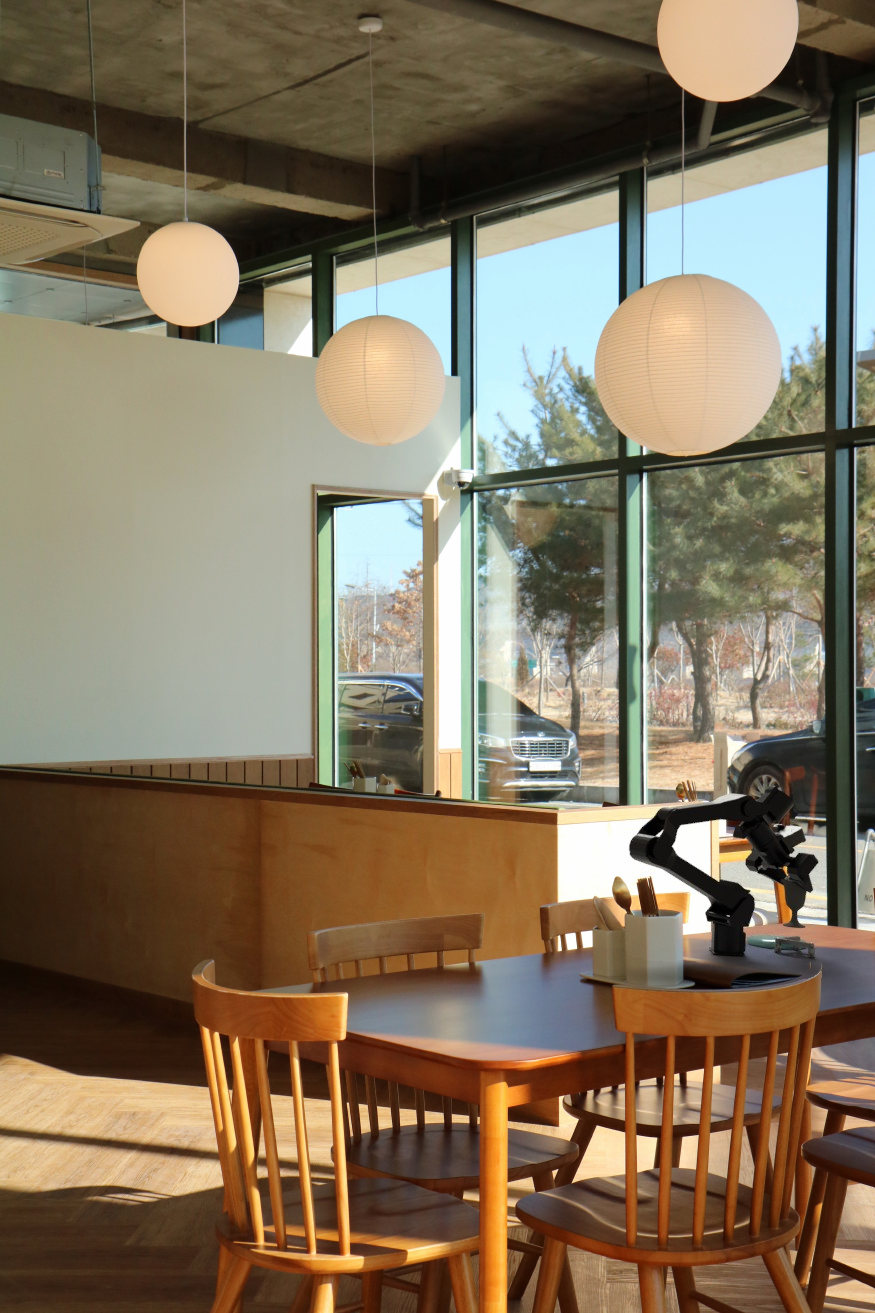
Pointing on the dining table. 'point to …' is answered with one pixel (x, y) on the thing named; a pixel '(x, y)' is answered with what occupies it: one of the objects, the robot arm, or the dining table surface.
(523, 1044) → the dining table surface
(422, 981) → the dining table surface
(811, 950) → the jointed flat metal bars
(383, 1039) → the dining table surface
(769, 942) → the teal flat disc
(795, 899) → the sundae
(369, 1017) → the dining table surface
